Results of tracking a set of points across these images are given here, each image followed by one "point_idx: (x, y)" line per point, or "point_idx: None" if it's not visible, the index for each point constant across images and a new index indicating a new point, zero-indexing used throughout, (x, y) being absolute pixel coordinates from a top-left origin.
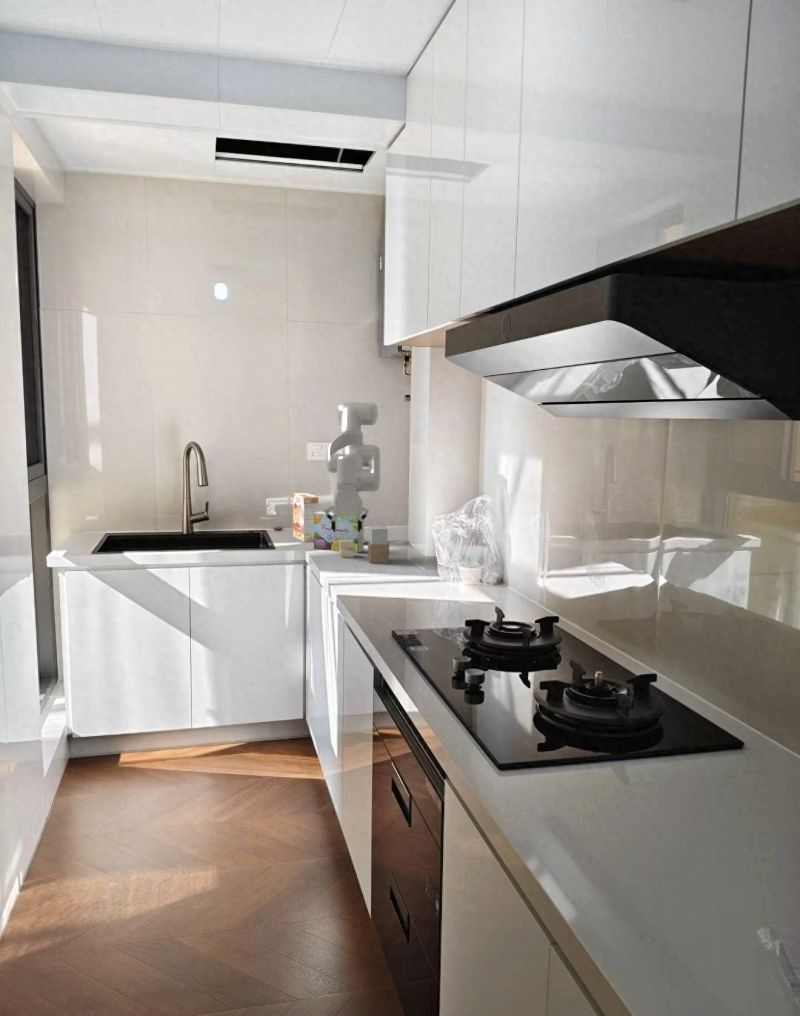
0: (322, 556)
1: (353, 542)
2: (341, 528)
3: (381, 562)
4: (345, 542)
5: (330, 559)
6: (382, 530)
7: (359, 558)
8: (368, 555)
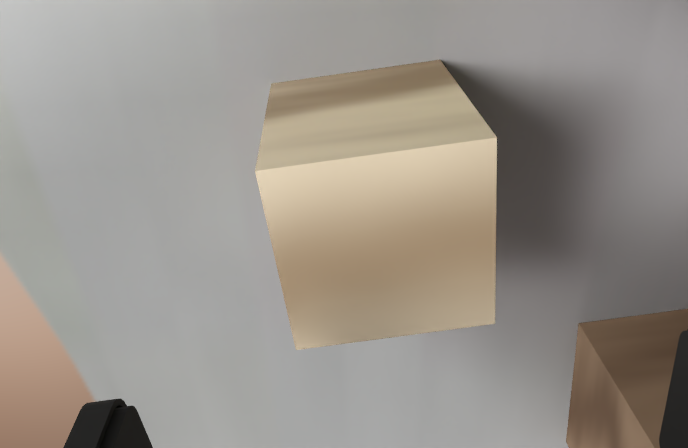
0: (67, 174)
1: (491, 321)
2: None
3: None
4: (368, 339)
5: (202, 321)
6: None
7: (505, 256)
8: (598, 378)
